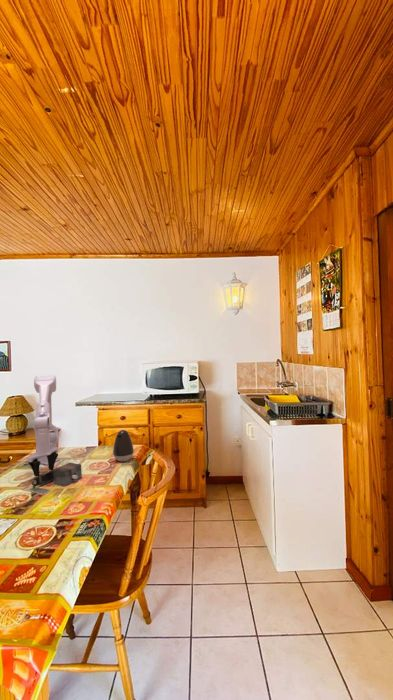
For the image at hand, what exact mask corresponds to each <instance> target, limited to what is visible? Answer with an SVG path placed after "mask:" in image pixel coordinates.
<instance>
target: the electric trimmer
mask: <svg viewBox="0 0 393 700" xmlns="http://www.w3.org/2000/svg"><path fill="white" fill-rule="evenodd" d="M38 483H39V476H38V477H37V476H36V477H35V478H34V479H33V480H32V481H31V485H32V486H34V485H36V484H38Z"/></svg>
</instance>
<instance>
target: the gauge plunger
mask: <svg viewBox="0 0 393 700" xmlns="http://www.w3.org/2000/svg"><path fill="white" fill-rule="evenodd" d="M38 477H39V483H38V484H36V485H32V487H38V486H40V487H42V486H44V485H47V484H49V483H50V482H53V470H49V471H47V472H45V473H43V474H39V476H38ZM71 477H72V479H77V478H78V475H73V474H72V475H71Z"/></svg>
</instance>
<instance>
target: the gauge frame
mask: <svg viewBox="0 0 393 700" xmlns="http://www.w3.org/2000/svg"><path fill="white" fill-rule="evenodd" d="M82 472H83V471H82V464H80V463H74V462H67V463H65V464H63V465H60V466H59V467H56V468H53V481H52V483H53V485H57V486H61V487H68V486H69V485H71V484H73V483H75V482H77V481H79V480H81V479H82V477H83V475H82ZM72 474H73V475H78V478H77V479H72V477H71V475H72ZM20 490H21V491H25V492H29V493H34V494H38V495H42V496H43V495H46V494H48V493H50V492H51V490H49V489H46V488H41V487H38V486H36V487H33V485H32V486H31V485H26V486H24V487H21V488H20Z"/></svg>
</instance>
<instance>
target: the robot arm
mask: <svg viewBox="0 0 393 700" xmlns="http://www.w3.org/2000/svg"><path fill="white" fill-rule="evenodd" d="M33 386H34V390H35V391H36V393H37V394H39V395H38V396H39V402H38V403H37V404H36V409H35V417H34V420H33V429H34V434H35V453H34V454H32V455H29V456H27V458H26V459H27V463H28V465H29V467H30V468H31V470H32V473H33V476H34V477H36V478H37V477H39V476H40V465H46V466H47V467H48V470H49V471H52V470H53V469H55V468H54V467H55V464H56V462H58V461H61V458H58V457H59V453H58V452H59V448H58V447H57V443H58V442H59V429H58V427H57V426H56V425H54V424H53V417H52V395H53V393H54V392H56V391H57V376H56V375H51V376H50V375H49V376H35V377H34V379H33Z"/></svg>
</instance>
